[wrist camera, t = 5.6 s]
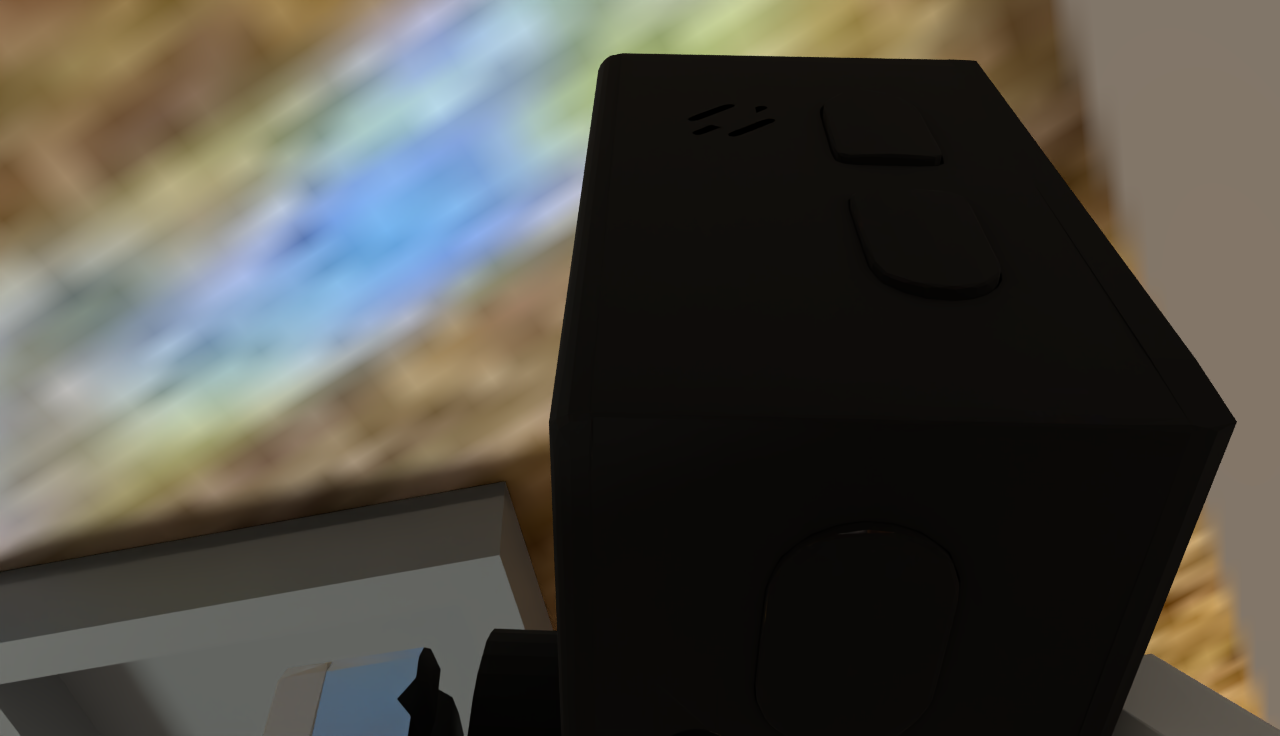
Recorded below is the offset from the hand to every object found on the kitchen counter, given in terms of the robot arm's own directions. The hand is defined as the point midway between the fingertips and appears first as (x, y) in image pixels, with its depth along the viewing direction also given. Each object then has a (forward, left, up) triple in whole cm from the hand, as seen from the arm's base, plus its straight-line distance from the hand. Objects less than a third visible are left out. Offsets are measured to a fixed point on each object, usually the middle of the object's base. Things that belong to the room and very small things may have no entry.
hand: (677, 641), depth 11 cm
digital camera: (0, +1, -5) cm, 5 cm away
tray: (+14, -11, -12) cm, 22 cm away
